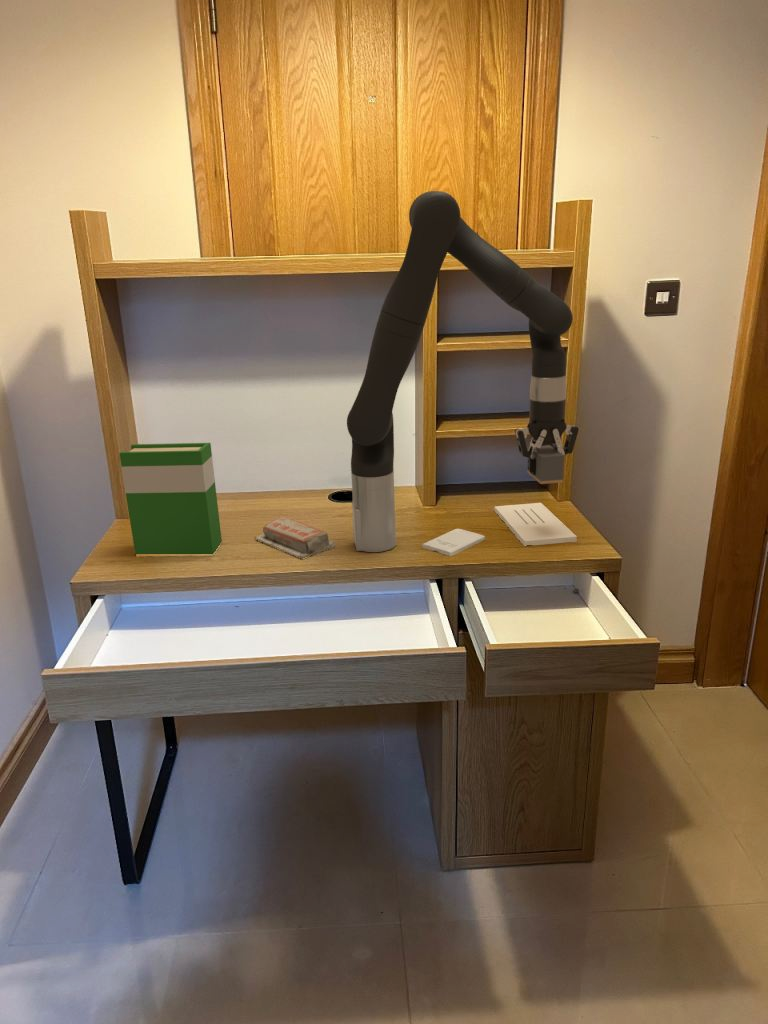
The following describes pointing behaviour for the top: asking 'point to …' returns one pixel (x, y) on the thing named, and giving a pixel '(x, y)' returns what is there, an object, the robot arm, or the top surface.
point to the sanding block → (549, 465)
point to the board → (534, 524)
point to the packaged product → (295, 537)
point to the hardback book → (171, 498)
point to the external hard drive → (453, 542)
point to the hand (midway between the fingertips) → (545, 472)
